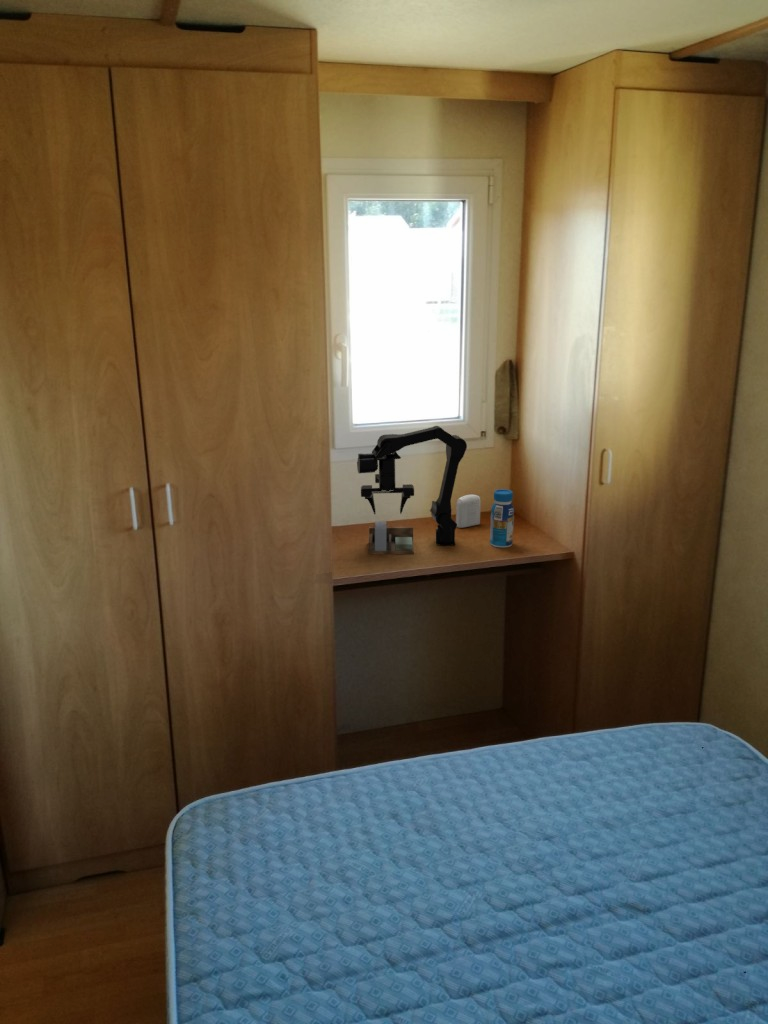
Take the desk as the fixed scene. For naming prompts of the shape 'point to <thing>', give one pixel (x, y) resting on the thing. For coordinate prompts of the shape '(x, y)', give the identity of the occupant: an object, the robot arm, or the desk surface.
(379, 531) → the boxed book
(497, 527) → the beverage bottle
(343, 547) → the desk surface
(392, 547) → the book rack
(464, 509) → the photo printer
